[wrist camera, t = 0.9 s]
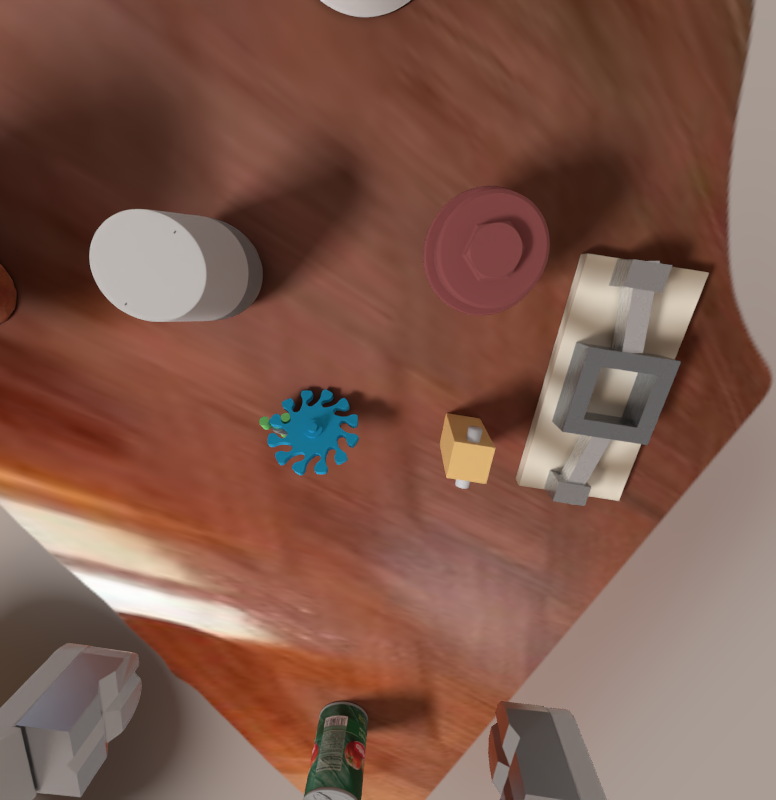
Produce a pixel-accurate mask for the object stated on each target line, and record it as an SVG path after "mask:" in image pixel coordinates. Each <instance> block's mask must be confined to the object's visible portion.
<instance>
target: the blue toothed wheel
mask: <svg viewBox="0 0 776 800" xmlns="http://www.w3.org/2000/svg"><path fill="white" fill-rule="evenodd" d="M301 397H302V400H303V403H302V407H301V409H300V411H298V412H293V410H294V408H295V403H294V401H293V400H292V399H291V398H290V399H287V400H285V401H283V402H282V406H283V408H284V409H285V410H286V411H287V412H289V414H290V415H289V414H288V413H284V414H282V415H281V417H280V415H279V414H274V415H273V416H272V417H271V419H270V420H269V419H268V417H262V418H260V420H259V423H260V424H261V426H262V427H263V428H264V429H265V430H268V429H270V428H272V429H273V431H274V432H275V433H278V434H281V436H282V437H285V438H279V437H278V436H277V435H276V434H275V433H271V434H269V436H268V442H267V443H268V445H269V446H270V447H276V446H278V445H290V446H292V450H291V451H290V452H284V451H278V452H277V453H276V454H275V457H276V459H277V461H278V463H279V464H280V465H284V464H286V463H287V462H288V460H289V459H291V458H292V457H294V456H297V455H301V454H303V455H305V458H304V459H303V460H302V461H299V462H296V463H294V464H293V466H292V469H293V470H294V471H295V472H296V473H297V474H299V475H301V476H302V475H303V474H304V473H305V472H306V467H307V465H308V463H309V461H310V460H311V459H312V458H314V457H315V456H320V457H321V459H320V461H319V462H318V463H317V464H316V465H315V467H314V470H315V472H316V473H317V474H327V472H328V468H327V465H326V456H327V453H328V451H329V450H331V449H334V450H336V454H335V461H336V463H337V464H338V465H340V464H343V463H344V462H346V461H347V460H348V459H347V455H346V453H345V452H343V451H342V450H341V449H340V448H339V446H338V443H337V441H338V439H339V438H340V437H344V438H346V440H347V444H348V446H349V447H352V448H353V447H354V446H355V445H356V444H357V442H358V440H359V438H358V436H357V435H356V434H350V433H347V432H345V431H343V430H342V429H341V428H340V425H341V424H342V423H347V424H348V425H349V426H350V427H352V428H356V427H357V426H358V416H357V415H356V414H352V415H350V416H346V417H341V416H336V415H334V413H335V412H336V411H338V410H340V411H348V410H349V409H350V408H349V403H348V401H347V400H346V399H345V398H342V399H340V400H339V402H338V403H337V404H335V405H333V406H331V407H326V408H324V407H322V406H323V404H324V403H327V402H331V401H332V400H333V398H334V397H333V394H332V393H331V392H330V391H328V390H326V389H325V390H323V391H322V393H321V397H320V399H319V401H318V402H317V403H316V404H314V405H313V406H307V405H308V403H309V402H310V401H312V400H313V397H314V396H313V393H312V391H308V390H305V391H302V392H301Z"/></svg>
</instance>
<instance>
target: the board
mask: <svg viewBox="0 0 776 800" xmlns="http://www.w3.org/2000/svg"><path fill="white" fill-rule="evenodd" d="M617 260H626V259H620V258H613V257H607V256H601V255H594V254H588V253H587V254H581V256H580V259H579V263H578V266H577V269H576V273H575V276H574V280H573V283H572V287H571V290H570V294H569V297H568V300H567V304H566V307H565V311H564V314H563V318H562V321H561V325H560V328H559V331H558V335H557V338H556V342H555V345H554V349H553V352H552V356H551V359H550V363H549V366H548V369H547V373H546V376H545V380H544V383H543V387H542V390H541V394H540V397H539V400H538V404H537V407H536V411H535V414H534V418H533V421H532V425H531V428H530V431H529V435H528V438H527V442H526V445H525V449H524V452H523V456H522V459H521V462H520V466H519V469H518V473H517V476H516V480H517V482H518V484H519V485H520V486H527V487H533V488H540V489H545V488H544V487H545V484H546V480H547V477H548V474H549V471H550V470H554V471H560V472H561V470H562V469H563V467H564V465H565V463H566V461H567V459H568V458H569V456H570V454H571V452H572V450H573V448H574V447H575V445H576V443H577V441H578V439H579V437H580V436H581V435H579V434H573V433H567V432H562V431H561V430H560V429H559V428H558V427H557V426H556V425H555V424H554V423H553V422H552V420H553V416H554V413H555V410H556V407H557V403H558V400H559V397H560V394H561V390H562V387H563V384H564V381H565V377H566V374H567V371H568V368H569V364H570V361H571V358H572V355H573V351H574V348H575V345H576V342H580V343H586V344H592V345H599V346H605V347H612V343H613V337H614V330H615V324H616V318H617V311H618V305H619V299H620V292H621V288H620V287H613V286H609V283H610V280H611V277H612V274H613V271H614V268H615V265H616V261H617ZM708 274H709V273H708V272H702V271H696V270H689V269H683V268H677V267H672V268H671V270H670V273H669V276H668V279H667V281H666V284H665V287H664V290H663V292H654V296H653V301H652V307H651V312H650V318H649V323H648V328H647V334H646V339H645V345H644V350H643V353H650V354H656V355H662V356H665V357H668V358H672V359H675V358H676V355H677V353H678V350H679V347H680V345H681V342H682V340H683V337H684V335H685V332H686V330H687V327H688V325H689V322H690V320H691V317H692V315H693V312H694V310H695V307H696V305H697V302H698V299H699V297H700V294H701V292H702V289H703V287H704V284H705V282H706V279H707V277H708ZM637 374H638V372H631V371H625V370H619V369H612V368H606V367H601V369H600V372H599V375H598V378H597V381H596V384H595V387H594V390H593V393H592V396H591V399H590V402H589V405H588V408H587V411H586V412H590V413H597V414H603V415H609V416H616V417H622V415H623V412H624V409H625V407H626V404H627V401H628V398H629V396H630V393H631V390H632V388H633V385H634V382H635V379H636V377H637ZM640 446H641V444H637V443H631V442H624V441H618V440H611V441H610V443H609V444H608V446H607V448H606V450H605V451H604V453H603V455H602V456H601V458H600V460H599V462H598V463H597V465H596V467H595V469H594V470H593V472H592V474H591V476H590V477H589V479H588V481H587V483H588V484H589V485H590V486H591V490H590V493H589V495H588V496H591V497H597V498H604V499H610V500H617V501H619V499H620V497H621V494H622V492H623V489H624V486H625V484H626V481H627V479H628V476H629V474H630V471H631V469H632V466H633V464H634V461H635V459H636V456H637V454H638V451H639V449H640Z"/></svg>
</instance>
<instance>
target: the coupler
mask: <svg viewBox="0 0 776 800" xmlns="http://www.w3.org/2000/svg"><path fill="white" fill-rule="evenodd" d="M440 448H441V453H442V458H443V463H444V468H445V473H446V478H452V479H456V483H455V484H456V486H458V487H460V488H463V489H466V488H468V487H469V484H470V481H471V482H477V483H484V484H486V482H487V478H488V474H489V470H490V467H491V463H492V459H493V455H494V451H495V446H494V444H493V442H492V440H491V438H490V437H489V435H488V433H487V431H486V429H485V427H484V425H483V423H482V421H481V419H480V418H474V417H467V416H461V415H455V414H448V413H446V417H445V422H444V426H443V431H442V436H441V441H440Z"/></svg>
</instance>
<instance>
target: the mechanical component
mask: <svg viewBox="0 0 776 800" xmlns="http://www.w3.org/2000/svg"><path fill="white" fill-rule="evenodd" d="M549 249H550V237H549V231H548V227H547V224H546V221H545V219H544V217H543V215H542V213H541V212H540V210H539V209H538V208H537V207H536V205H535V204H534V203H533V202H532V201H530V200H529V199H528V198H527V197H525V196H523V195H521V194H519V193H517V192H514V191H512V190H510V189H507V188H504V187H498V186H482V187H476V188H473V189H470V190H467V191H465V192H463V193H461V194H459V195H457V196H456V197H454V198H453V199H451V200H450V201H449V202H448V203H447V204H446V205H445V206H444V207H443V208H442V209H441V210H440V211H439V213H438V214H437V216H436V217H435V219H434V220H433V222H432V224H431V226H430V228H429V230H428V233H427V236H426V239H425V243H424V251H423V263H424V270H425V273H426V277H427V279H428V282H429V284H430V286H431V288H432V289H433V291H434V292H435V294H436V295H437V296H438V297H439V298H440V299H441V300H442V301H443V302H444V303H445V304H447V305H448V306H450V307H451V308H453V309H455V310H457V311H459V312H462V313H465V314H470V315H482V316H483V315H491V314H495V313H499V312H501V311H504V310H506V309H508V308H510V307H512V306H513V305H515V304H516V303H518V302H519V301H520V300H522V299H523V298H524V297H525V296H526V295H527V294H528V293H529V291H530V290H531V289H532V288H533V287H534V286H535V284H536V283H537V282H538V281H539V279H540V277H541V275H542V274H543V272H544V269H545V267H546V264H547V261H548V256H549Z"/></svg>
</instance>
